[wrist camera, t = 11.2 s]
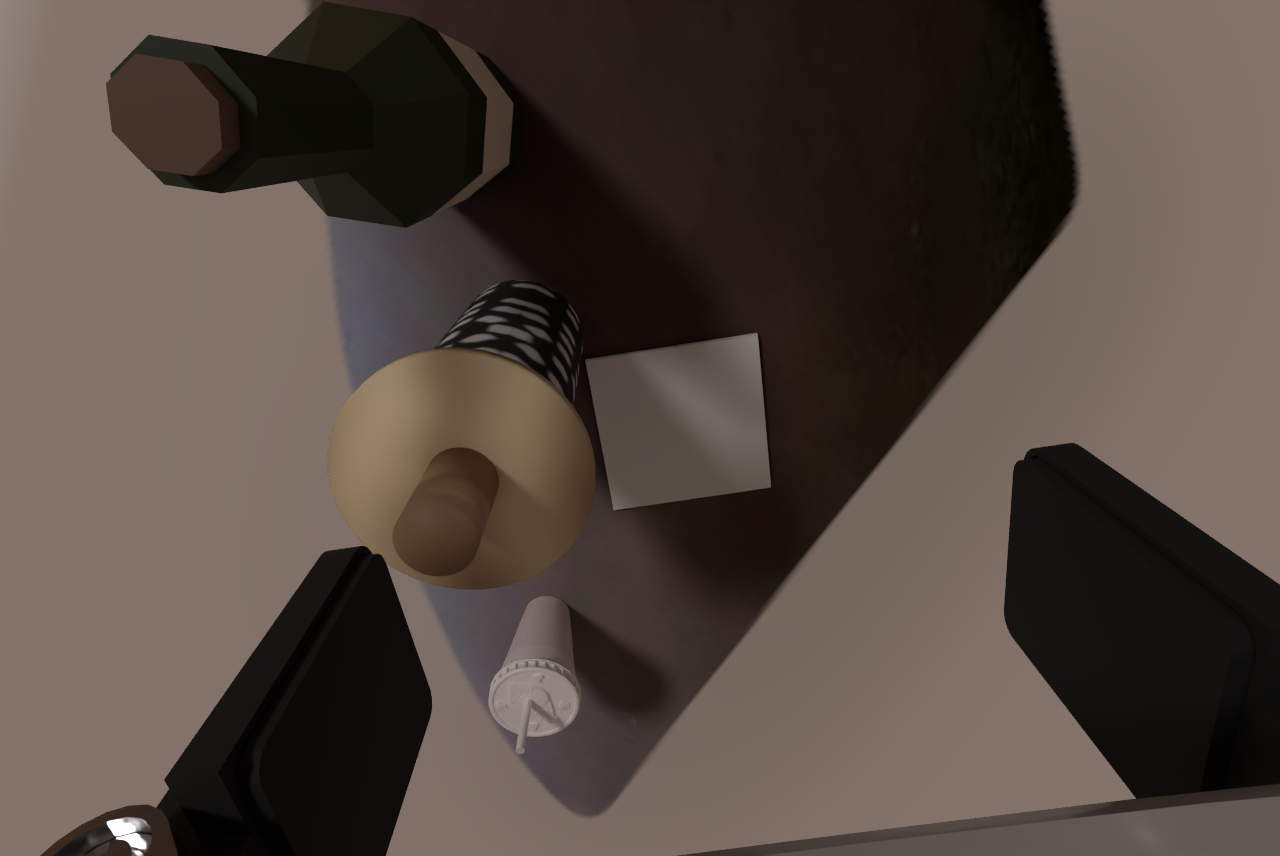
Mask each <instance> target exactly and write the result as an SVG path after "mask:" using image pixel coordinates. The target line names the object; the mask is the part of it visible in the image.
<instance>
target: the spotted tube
mask: <svg viewBox="0 0 1280 856" xmlns="http://www.w3.org/2000/svg"><path fill="white" fill-rule="evenodd" d="M444 347H466V348H473V349H480V350H486V351H490V352H493V353H497V354H501V355H504V356H506V357H509V358H511V359H514V360H516V361H518V362H520V363H522V364H524V365H526V366H528V367H529V368H531V369H533V370H535V371H536V372H538V373H539V374H540V375H542V376H543V377H545V378H546V379H547V380H549V381H550V382H551V383H552V384H553V385H554V386H555V387H556V388H557V389H558V390H560V391H561V392H562V393H563V395H564V396H565V397H566V398H567V399H568V401H569V402H570V403H571V404H572V405H574V399H575V393H576V387H577V381H578V375H579V369H580V363H581V357H582V351H583V332H582V328H581V324H580V321H579V319H578V317H577V315H576V312H575V311H574V310H573V308H572V307H571V305H570V304H569V303H568V302H567V301H566V300H565V299H564V298H563V297H562V296H561V295H560V294H559V293H557V292H556V291H554V290H553V289H551V288H550V287H547V286H545V285H542V284H540V283H537V282H532V281H527V280H511V281H506V282H501V283H499V284H496V285H494V286H492V287H490V288H488V289H487V290H485V291H484V292H482V293H481V294H480V295H479V296H478V297H477V298H476V299H475V300H474V301H473V302H472V304H471V305H470V306H469V307H468V308H467V310H466V311H465V312H464V313H463V314H462V316H461V317H460V318H459V319H458V320H457V321H456V323H455V324H454V325H453V326H452V327H451V329H450V330H449V331H448V332H447V333H446V335H445V336H444V337H443V338H442V339H441V340H440V342H439V343H438V344H437V345H436V346H435V348H444ZM435 348H434V349H435Z"/></svg>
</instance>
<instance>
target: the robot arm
mask: <svg viewBox="0 0 1280 856" xmlns="http://www.w3.org/2000/svg"><path fill="white" fill-rule="evenodd" d="M1009 529H1010V530H1009V543H1008V559H1007V574H1006V589H1005V604H1004V616H1005V621H1006V625H1007V628H1008V629H1009V632H1010V634H1011V636H1012V637H1013V639H1014V640H1015V641H1016V643H1017V644H1018V645H1019V646H1020V648H1021V649H1022V650H1023V652H1024V653H1025V654H1026V656H1027V657H1028V658H1029V660H1030V661H1031V662H1032V663H1033V665H1034V666H1035V667H1036V668H1037V670H1038V671H1039V673H1040V674H1041V675H1042V676H1043V677H1044V679H1045V680H1046V682H1047V683H1048V684H1049V685H1050V687H1051V688H1052V689H1053V691H1054V692H1055V693H1056V694H1057V696H1058V697H1059V698H1060V700H1061V701H1062V702H1063V704H1064V705H1065V706H1066V707H1067V709H1068V710H1069V712H1070V713H1071V714H1072V715H1073V717H1074V718H1075V719H1076V721H1077V722H1078V723H1079V725H1080V726H1081V727H1082V728H1083V730H1084V731H1085V732H1086V734H1087V735H1088V736H1089V737H1090V739H1091V740H1092V741H1093V743H1094V744H1095V745H1096V747H1097V748H1098V749H1099V751H1100V752H1101V753H1102V755H1103V756H1104V757H1105V758H1106V760H1107V761H1108V762H1109V764H1110V765H1111V766H1112V768H1113V769H1114V770H1115V771H1116V773H1117V774H1118V775H1119V777H1120V778H1121V779H1122V780H1123V782H1124V783H1125V784H1126V786H1127V787H1128V788H1129V790H1130V791H1131V792H1132V794H1133V795H1134V796H1135V797H1136V799H1131V800H1122V801H1115V802H1106V803H1098V804H1089V805H1081V806H1073V807H1065V808H1056V809H1048V810H1040V811H1032V812H1023V813H1015V814H1007V815H999V816H991V817H982V818H974V819H966V820H958V821H949V822H941V823H934V824H925V825H916V826H908V827H900V828H892V829H884V830H876V831H868V832H860V833H852V834H844V835H836V836H829V837H821V838H813V839H806V840H797V841H789V842H781V843H773V844H765V845H757V846H750V847H742V848H735V849H726V850H718V851H711V852H703V853H695V854H687V855H679V856H1280V584H1278V583H1276V582H1275V581H1274V580H1272V579H1271V578H1269V577H1268V576H1267V575H1265V574H1264V573H1262V572H1261V571H1259V570H1258V569H1256V568H1255V567H1253V566H1252V565H1251V564H1249V563H1248V562H1246V561H1245V560H1243V559H1242V558H1241V557H1239V556H1238V555H1236V554H1235V553H1233V552H1232V551H1231V550H1229V549H1228V548H1226V547H1225V546H1223V545H1222V544H1220V543H1219V542H1217V541H1216V540H1215V539H1213V538H1212V537H1210V536H1209V535H1208V534H1206V533H1205V532H1203V531H1202V530H1200V529H1199V528H1197V527H1196V526H1195V525H1193V524H1192V523H1190V522H1189V521H1187V520H1186V519H1184V518H1183V517H1182V516H1180V515H1179V514H1177V513H1176V512H1174V511H1173V510H1172V509H1170V508H1169V507H1167V506H1166V505H1164V504H1163V503H1161V502H1160V501H1158V500H1157V499H1156V498H1154V497H1153V496H1151V495H1150V494H1148V493H1147V492H1145V491H1144V490H1143V489H1141V488H1140V487H1138V486H1137V485H1135V484H1134V483H1133V482H1131V481H1130V480H1128V479H1127V478H1125V477H1124V476H1123V475H1121V474H1120V473H1118V472H1117V471H1115V470H1114V469H1112V468H1111V467H1110V466H1108V465H1107V464H1105V463H1104V462H1102V461H1101V460H1099V459H1098V458H1097V457H1095V456H1094V455H1092V454H1091V453H1089V452H1088V451H1087V450H1085V449H1084V448H1082V447H1081V446H1079V445H1077V444H1075V443H1068V444H1060V445H1055V446H1048V447H1040V448H1033V449H1030V450H1029V451H1028V452H1027V453H1026V455H1025V458H1024V460H1019V461H1018V462H1017V463H1016V464H1015V466H1014V471H1013V484H1012V499H1011V515H1010V528H1009ZM431 711H432V696H431V691H430V688H429V685H428V682H427V679H426V676H425V673H424V670H423V667H422V665H421V662H420V659H419V656H418V653H417V650H416V648H415V645H414V642H413V639H412V636H411V633H410V630H409V628H408V625H407V622H406V619H405V616H404V613H403V611H402V608H401V605H400V602H399V599H398V596H397V593H396V590H395V588H394V585H393V582H392V579H391V576H390V573H389V571H388V568H387V565H386V562H385V560H384V558H383V557H382V555H380V554H378V553H377V554H372V552H371V551H370V550H369V548H368V547H365V546H359V547H352V548H345V549H338V550H331V551H326V552H324V553H323V554H322V555H321V556H320V557H319V559H318V560H317V562H316V563H315V565H314V566H313V567H312V569H311V570H310V572H309V574H308V575H307V576H306V578H305V579H304V581H303V582H302V583H301V585H300V586H299V588H298V589H297V590H296V592H295V593H294V595H293V596H292V598H291V599H290V601H289V602H288V603H287V605H286V606H285V608H284V609H283V610H282V612H281V613H280V615H279V616H278V618H277V619H276V621H275V622H274V623H273V625H272V626H271V628H270V629H269V631H268V632H267V633H266V635H265V636H264V638H263V639H262V641H261V642H260V644H259V645H258V646H257V648H256V649H255V651H254V652H253V653H252V655H251V656H250V658H249V659H248V661H247V662H246V664H245V665H244V666H243V668H242V669H241V671H240V672H239V674H238V675H237V676H236V678H235V679H234V681H233V682H232V684H231V685H230V686H229V688H228V689H227V691H226V692H225V694H224V695H223V696H222V698H221V699H220V701H219V702H218V704H217V705H216V706H215V708H214V709H213V711H212V712H211V714H210V715H209V716H208V718H207V719H206V721H205V722H204V724H203V725H202V727H201V728H200V729H199V731H198V732H197V734H196V735H195V736H194V738H193V739H192V741H191V742H190V744H189V745H188V746H187V748H186V749H185V751H184V752H183V754H182V755H181V757H180V758H179V759H178V761H177V762H176V764H175V765H174V767H173V768H172V769H171V771H170V772H169V774H168V775H167V777H166V778H165V782H166V784H167V786H168V787H169V790H168V791H167V793H166V794H165V796H164V798H163V799H162V800H161V802H160V803H159V805H158V806H157V808H155V807H153V806H150V805H133V806H126V807H123V808H119V809H116V810H113V811H110V812H106V813H104V814H102V815H100V816H98V817H96V818H94V819H92V820H90V821H88V822H86V823H84V824H82V825H80V826H79V827H78V828H76V829H74V830H73V831H71V832H70V833H68V834H67V835H65V836H64V837H62V838H61V839H59V840H58V841H57V842H56V843H54V844H53V845H52V846H51V847H50V848H48V849H47V850H46V851H45V852H44V853H43V854H42V855H40V856H386V853H387V850H388V847H389V843H390V840H391V837H392V834H393V831H394V828H395V825H396V822H397V818H398V816H399V812H400V809H401V806H402V803H403V800H404V797H405V794H406V790H407V787H408V784H409V781H410V778H411V775H412V772H413V769H414V766H415V763H416V759H417V757H418V753H419V750H420V747H421V744H422V741H423V738H424V735H425V732H426V729H427V725H428V722H429V719H430V715H431Z"/></svg>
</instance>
